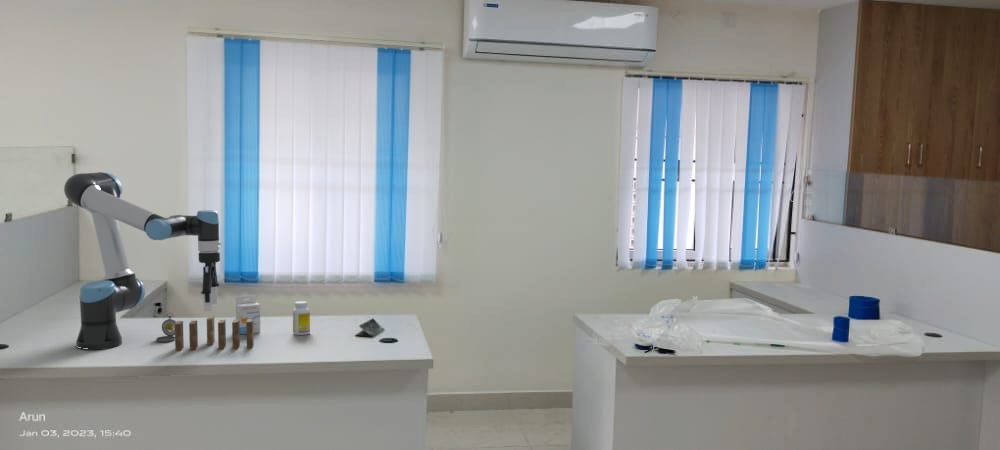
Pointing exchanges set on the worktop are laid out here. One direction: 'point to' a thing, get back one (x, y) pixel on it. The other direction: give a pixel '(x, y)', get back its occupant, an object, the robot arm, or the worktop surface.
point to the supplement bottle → (301, 318)
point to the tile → (210, 330)
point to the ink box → (248, 312)
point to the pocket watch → (168, 330)
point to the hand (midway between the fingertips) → (211, 307)
